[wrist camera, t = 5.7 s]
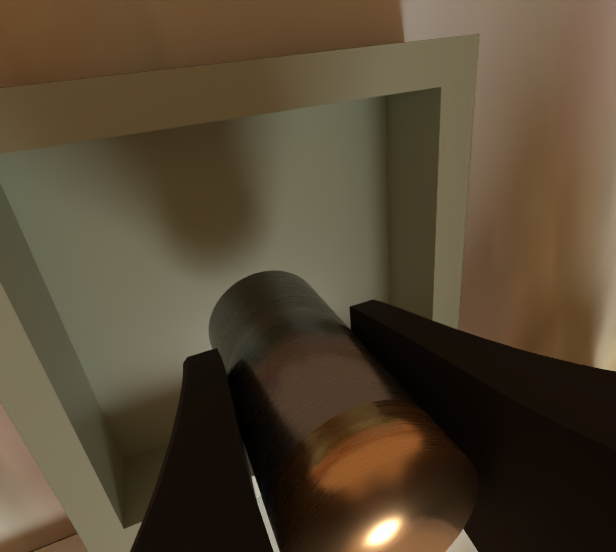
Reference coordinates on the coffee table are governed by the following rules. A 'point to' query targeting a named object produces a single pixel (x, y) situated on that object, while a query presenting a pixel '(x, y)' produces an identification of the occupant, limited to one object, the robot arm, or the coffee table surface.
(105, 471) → the bin
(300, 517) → the cylinder
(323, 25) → the coffee table surface
